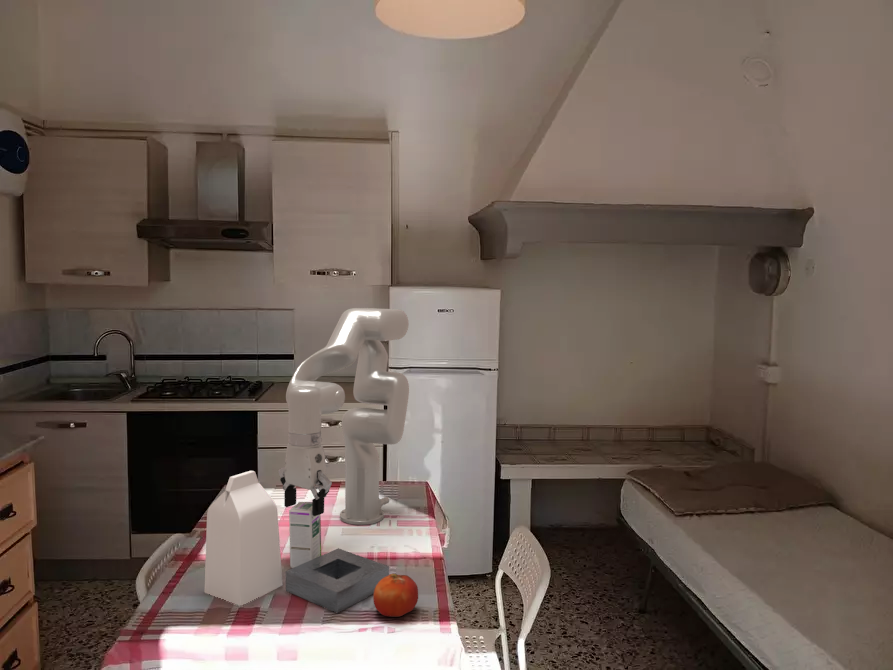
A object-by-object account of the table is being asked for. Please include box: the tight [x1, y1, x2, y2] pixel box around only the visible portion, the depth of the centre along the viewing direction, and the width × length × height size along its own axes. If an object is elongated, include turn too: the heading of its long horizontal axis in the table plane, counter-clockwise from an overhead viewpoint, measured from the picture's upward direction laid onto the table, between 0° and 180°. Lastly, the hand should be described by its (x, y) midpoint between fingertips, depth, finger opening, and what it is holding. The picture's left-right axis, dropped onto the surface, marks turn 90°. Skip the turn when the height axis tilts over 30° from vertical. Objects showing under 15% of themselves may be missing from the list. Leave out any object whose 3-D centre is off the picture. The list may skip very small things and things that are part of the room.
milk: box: [203, 470, 284, 605], centre depth 151 cm, size 12×12×26 cm
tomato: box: [372, 573, 419, 618], centre depth 143 cm, size 9×9×8 cm
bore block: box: [285, 547, 390, 614], centre depth 153 cm, size 16×16×4 cm
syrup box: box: [288, 501, 322, 569], centre depth 165 cm, size 6×6×14 cm
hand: (304, 509), depth 163 cm, fingers open, 9 cm apart
